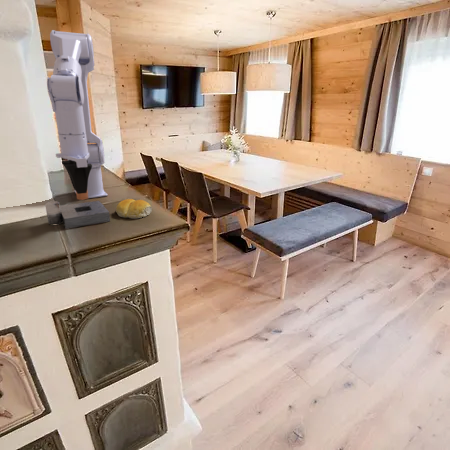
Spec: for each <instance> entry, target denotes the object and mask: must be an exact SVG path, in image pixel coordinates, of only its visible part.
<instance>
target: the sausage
mask: <svg viewBox="0 0 450 450" xmlns="http://www.w3.org/2000/svg"><path fill="white" fill-rule="evenodd" d="M75 194H76V200H78V201H79V200H82V201H83V200H84V201H85V200H88V199H89V198H88V190H87V193H81V194H77V192H76V193H75Z"/></svg>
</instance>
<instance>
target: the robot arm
mask: <svg viewBox="0 0 450 450" xmlns="http://www.w3.org/2000/svg"><path fill="white" fill-rule="evenodd" d="M49 40H50V46H51V51H52V54H53V56H54V58H55V60H54V62H53V70H52V74H51V75H50V77H46V89H47V93H48V96H49V99H50V103H51V109H52V111H53V113H54V116H55V121H56V128H57V133H58V141H59V146H60V152H61V153H55V157H56V158H57V159H59V158H60V159H65V160H64V161H61V163H62V165H63V167H64V168H65V170H66V172H67V174H68V176H69V178H70V182H71V184H72V187H73V190H74V193H75V194H76V192H77V194H81V193H87V190H88V199H93V198H99V197H108V193H107V192H106V191H105V190H104V184H103V175H102V166H103V165H104V164H105V163H106V162H105V158H106V157H105V151H104V150H105V149H104V144H103V140H102V138H101V137H100V136H98V135H97V134H95V133H94V132H93V131H92V129H93V128H92V120H91V110H90V100H89V91H88V78H89V77H88V75H89V73H91V72H93V71H94V70H95V58H94V55H95V53H94V44H93V38H92V35H91V34H90V33H88V32H87V33H79V32H78V33H77V32H69V31H68V32H67V31H61V30H60V31H59V30H55V29H52V30H51V31H50V33H49Z"/></svg>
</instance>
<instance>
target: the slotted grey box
mask: <svg viewBox="0 0 450 450" xmlns="http://www.w3.org/2000/svg"><path fill="white" fill-rule="evenodd" d="M44 207H45V212H46V216H47V223H48V225H49V224H59V225H61V224H63V226H64V228H65V229H66V230H67V229H74V228H78V227H83V226H84V227H85V226H90V225H96V224H102V223H108V222H111V219H110V211H109V210H108V209H107V208H106V207H105V205H104V204H103V203H102V202H101V200H96V201H88V202H87V201H86V202H79V203H72V204H66V205H65V204H64V205H61V204H60V202H59V201H57V200H55V201H53V200H52V201H51V200H50V201H47V202H45V203H44Z"/></svg>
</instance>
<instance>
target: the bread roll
mask: <svg viewBox="0 0 450 450" xmlns="http://www.w3.org/2000/svg"><path fill="white" fill-rule="evenodd" d="M115 210H116V211H115V212H116V214H117V215H118V217H120V218H124V219H125V218H128V219H133V220H135V219H142V217H143V218H145V217H147V215H148V216H149V215H150V214H151V213H152V212H153V211H152V210H153V209H152V206H151V204H150V203H149V202H147V201H146V200H144V199H137V200H135V199H133V198H126V199H124V200H123V199H122V200H121V201H119V202H118V203H117V205H116V208H115Z"/></svg>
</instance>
